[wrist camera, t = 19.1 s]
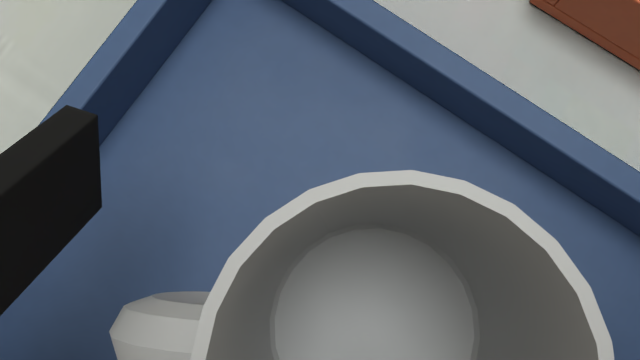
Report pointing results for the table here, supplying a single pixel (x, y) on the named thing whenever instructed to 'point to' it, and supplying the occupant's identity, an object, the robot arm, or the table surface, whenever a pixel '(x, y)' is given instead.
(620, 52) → the terracotta tray
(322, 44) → the blue tray
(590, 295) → the cup
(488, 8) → the table surface
